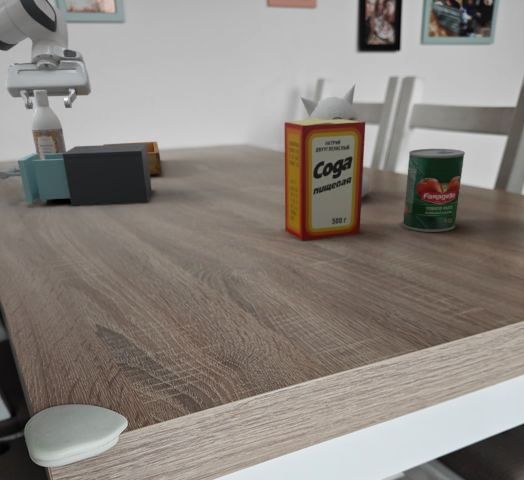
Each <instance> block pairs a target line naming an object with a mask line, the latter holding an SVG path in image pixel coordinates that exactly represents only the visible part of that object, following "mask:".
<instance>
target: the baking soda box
mask: <svg viewBox="0 0 524 480" xmlns="http://www.w3.org/2000/svg"><path fill="white" fill-rule="evenodd" d="M365 138H366V121H361V120H358V121H354V120H346V119H335V120H321V119H317V118H314V119H301V120H294V121H285V122H284V202H285V203H284V208H285V209H284V210H285V211H284V212H285V213H284V216H285V217H284V220H285V223H284V224H285V228H284V229H285V231H286V232H287V233H289V234H291V235H293V236H294V237H295V238H297V239H298V240H300V241H310V240H316V239H324V238H325V239H326V238H333V237H339V236H348V235H357V234H360V233H361V216H362V214H361V213H362V198H363V197H362V178H363V173H364V159H365V158H364V157H365V141H366V139H365Z"/></svg>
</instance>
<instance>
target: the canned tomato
mask: <svg viewBox="0 0 524 480" xmlns="http://www.w3.org/2000/svg"><path fill="white" fill-rule="evenodd" d="M465 154H466V152H465V151H464V150H461V149H453V148H420V149H413V150H410V151H409V152H408V165H407V167H408V168H407V176H406V186H405V187H406V188H405V199H404V200H405V201H404V208H403V210H404V211H403V221H402V226H403V227H404V228H405V229H407V230H410V231H413V232H414V231H415V232H422V233H442V232H448V231H452V230H453V229H455V227H456V219H457V210H458V205H459V197H460V196H459V195H460V190H461V189H460V188H461V182H462V181H461V180H462V174H463V166H464V159H465V158H464V157H465Z"/></svg>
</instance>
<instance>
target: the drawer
mask: <svg viewBox="0 0 524 480" xmlns="http://www.w3.org/2000/svg"><path fill="white" fill-rule="evenodd" d="M63 154H64V153H57V154H44V156H45V160H40V155H39V153H36V152H33V153H30V154H29V155H26V156H24V157H22V158H20V159H17V164H18V168H16V167H14V166H10V167H8V168H6V169H4V170H2V171H0V179H1V180H7V179H9V178H12V177H14V178H15V177H20V179H21V182H22V188H23V193H24V197H25V202H26V203H27V204H28V203H34V202H35V201H36V200H38V199H39V200H40V201H42V200H43V201H44V200H62V199H70V193H69V188H68V182H67V177H66V171H65V165H64V160H63Z"/></svg>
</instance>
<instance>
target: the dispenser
mask: <svg viewBox="0 0 524 480" xmlns="http://www.w3.org/2000/svg"><path fill="white" fill-rule="evenodd" d="M63 160H64V165H65V171H66V177H67V182H68V188H69V193H70V198H69V199H70V203H71V207H75V206H94V205H116V204H133V203H134V204H135V203H137V204H138V203H148V202H149V199H150V196H151V193H152V181H151V174H150V172H149V163H148V154H147V145H146V144H124V145H104V144H102V145H78V146H77V145H75V146H74V147H72V148H70V149H68V150H66V152H65V153H64V154H63Z"/></svg>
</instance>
